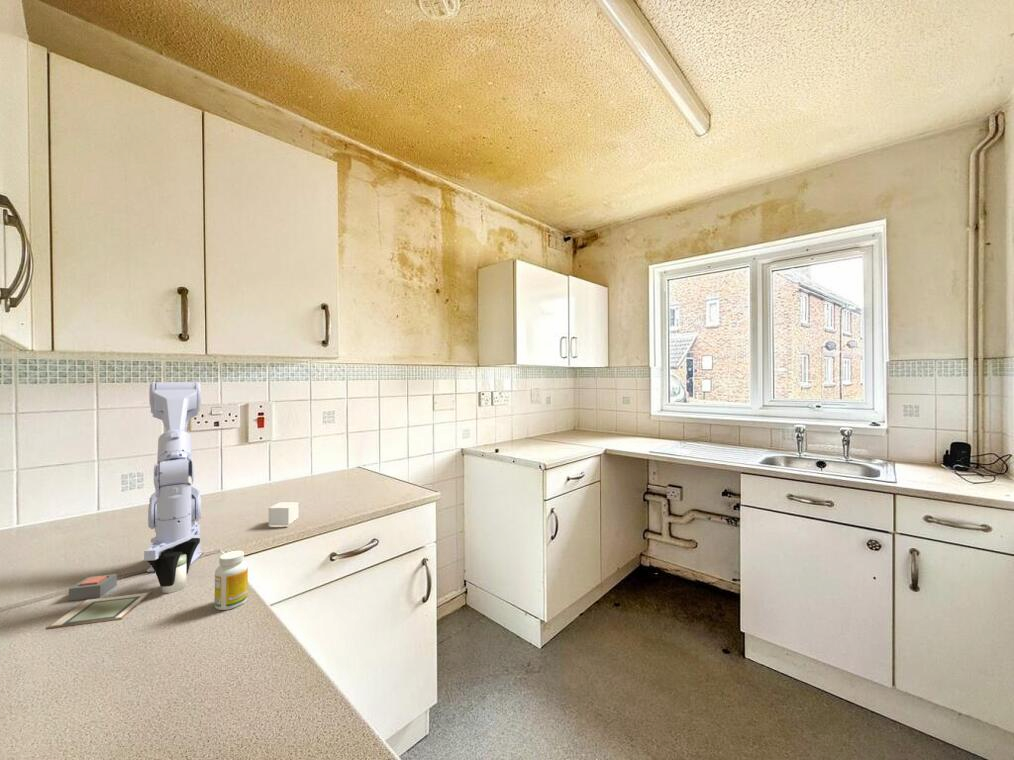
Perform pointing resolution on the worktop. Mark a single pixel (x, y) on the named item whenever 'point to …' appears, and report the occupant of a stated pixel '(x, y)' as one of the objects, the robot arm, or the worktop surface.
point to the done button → (93, 580)
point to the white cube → (283, 513)
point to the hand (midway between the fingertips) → (174, 580)
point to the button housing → (92, 588)
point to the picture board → (100, 610)
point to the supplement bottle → (231, 581)
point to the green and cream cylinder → (178, 577)
